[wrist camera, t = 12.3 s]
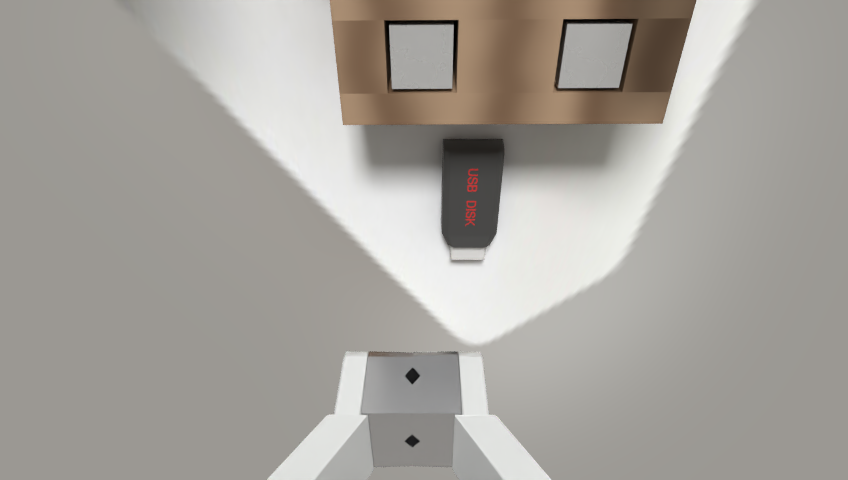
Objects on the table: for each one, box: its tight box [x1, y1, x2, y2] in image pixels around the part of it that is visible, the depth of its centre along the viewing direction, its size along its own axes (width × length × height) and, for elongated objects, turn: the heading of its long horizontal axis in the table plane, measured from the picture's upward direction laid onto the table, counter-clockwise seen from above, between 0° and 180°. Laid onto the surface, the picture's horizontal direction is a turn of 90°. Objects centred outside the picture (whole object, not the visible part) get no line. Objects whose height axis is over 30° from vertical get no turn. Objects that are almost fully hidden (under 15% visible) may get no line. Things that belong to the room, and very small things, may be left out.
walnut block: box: [330, 0, 696, 125], centre depth 36 cm, size 22×9×8 cm, turn 90°
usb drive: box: [441, 139, 504, 260], centre depth 48 cm, size 5×12×3 cm, turn 0°
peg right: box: [555, 19, 632, 88], centre depth 36 cm, size 4×4×7 cm
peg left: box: [389, 20, 454, 89], centre depth 36 cm, size 4×4×7 cm
